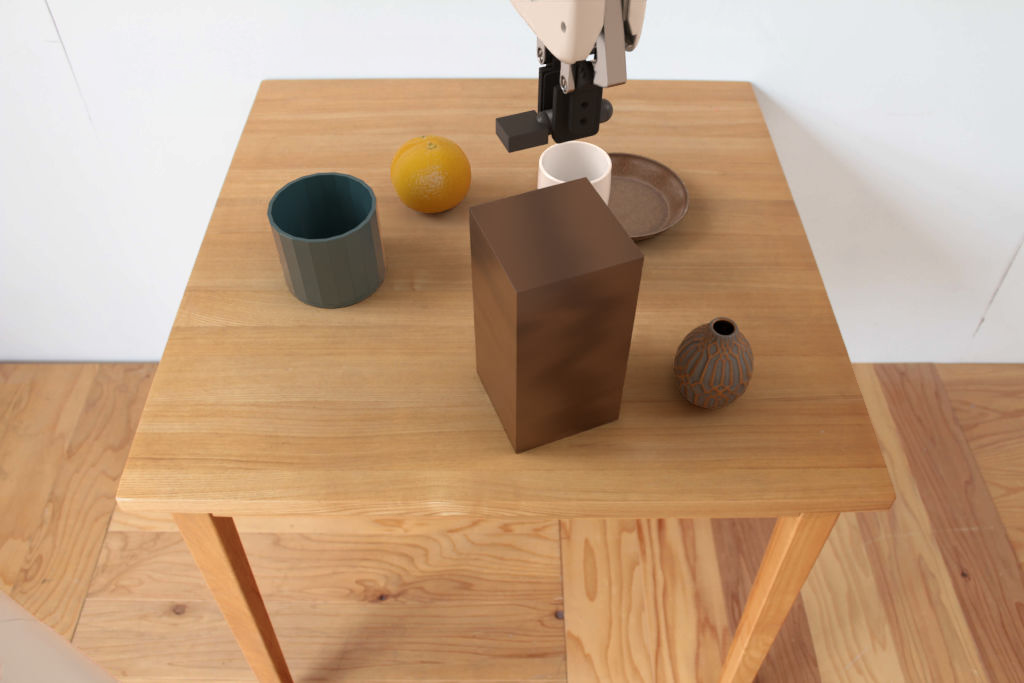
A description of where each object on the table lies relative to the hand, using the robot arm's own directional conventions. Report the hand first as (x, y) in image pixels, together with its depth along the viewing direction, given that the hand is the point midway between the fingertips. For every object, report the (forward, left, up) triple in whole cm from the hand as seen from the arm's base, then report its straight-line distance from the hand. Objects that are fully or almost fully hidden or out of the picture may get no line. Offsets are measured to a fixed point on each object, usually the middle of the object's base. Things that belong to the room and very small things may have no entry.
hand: (567, 126), depth 57 cm
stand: (-1, 0, -29) cm, 29 cm away
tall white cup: (+7, +13, -29) cm, 33 cm away
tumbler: (-15, +23, -29) cm, 40 cm away
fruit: (-2, +30, -29) cm, 42 cm away
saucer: (+17, +21, -29) cm, 40 cm away
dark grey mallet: (-1, 0, 0) cm, 1 cm away
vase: (+13, -5, -29) cm, 33 cm away
